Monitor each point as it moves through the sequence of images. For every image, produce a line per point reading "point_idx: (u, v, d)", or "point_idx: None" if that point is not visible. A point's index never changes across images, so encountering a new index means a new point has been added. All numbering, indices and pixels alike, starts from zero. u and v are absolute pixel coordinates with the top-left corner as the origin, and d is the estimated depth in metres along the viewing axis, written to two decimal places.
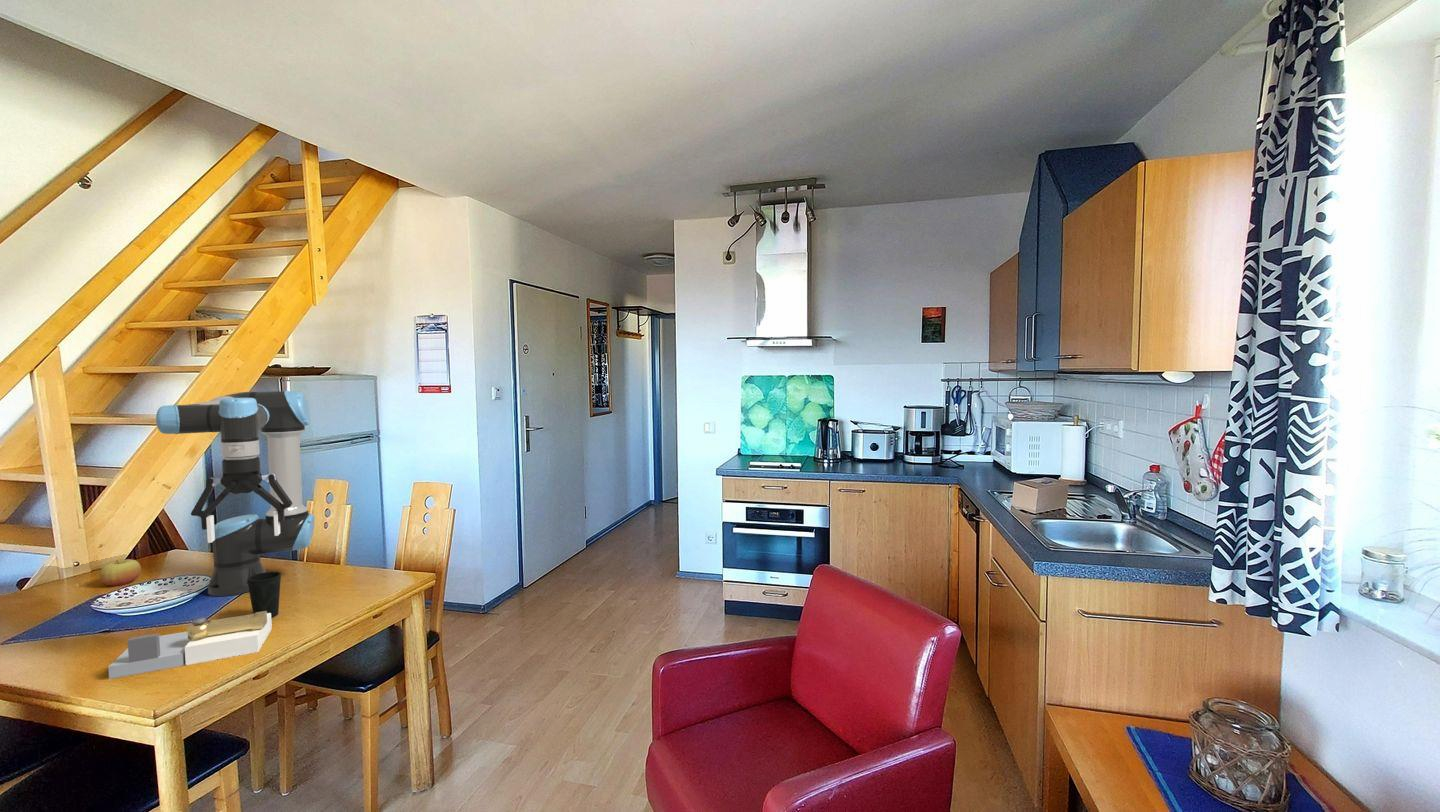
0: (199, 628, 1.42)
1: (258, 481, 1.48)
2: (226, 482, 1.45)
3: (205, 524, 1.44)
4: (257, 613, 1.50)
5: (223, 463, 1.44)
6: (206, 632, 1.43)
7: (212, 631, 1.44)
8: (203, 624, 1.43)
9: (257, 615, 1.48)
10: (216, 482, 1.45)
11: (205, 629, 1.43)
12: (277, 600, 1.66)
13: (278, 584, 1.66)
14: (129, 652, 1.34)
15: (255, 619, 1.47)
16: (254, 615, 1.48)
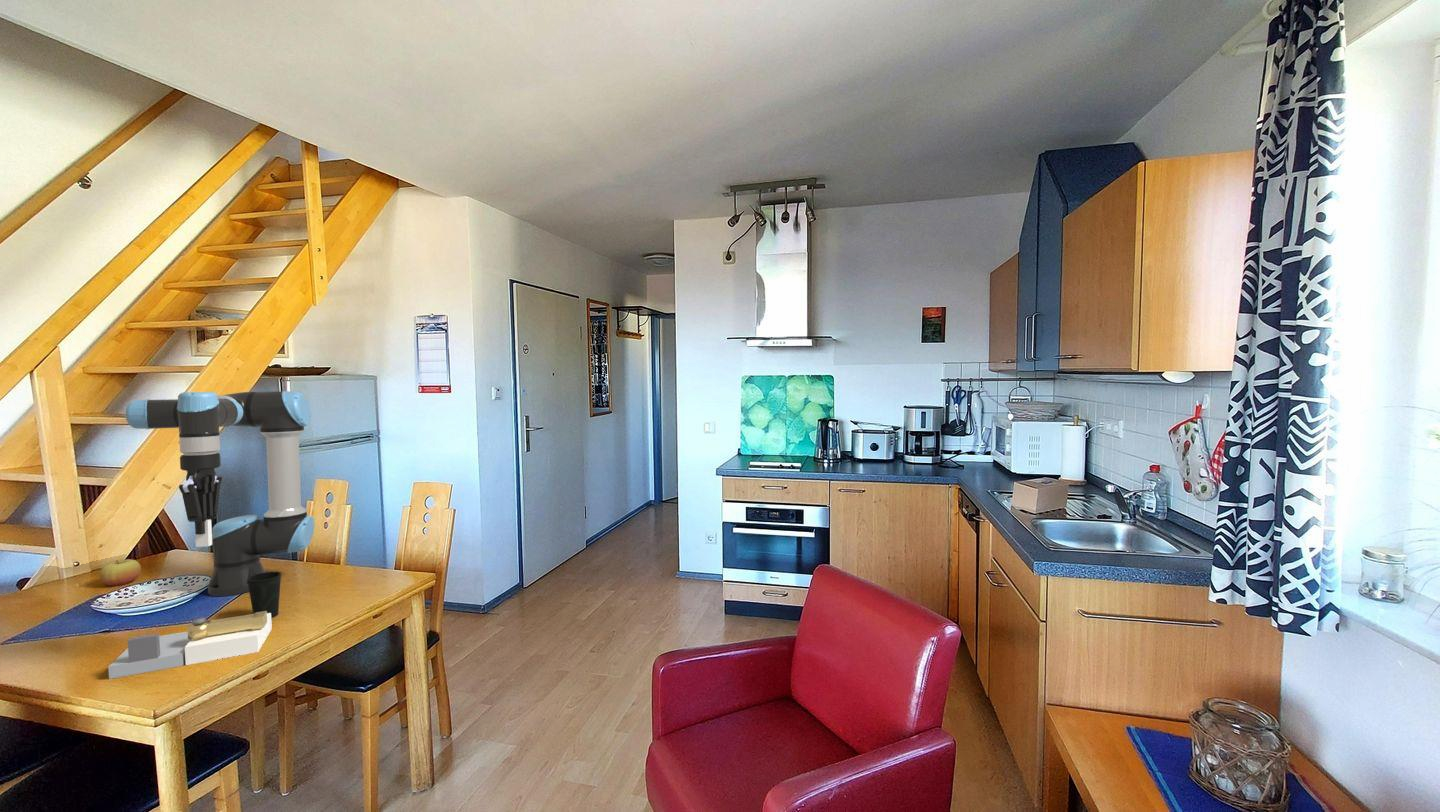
0: (199, 628, 1.42)
1: (187, 481, 1.40)
2: None
3: None
4: (257, 613, 1.50)
5: None
6: (206, 632, 1.43)
7: (212, 631, 1.44)
8: (203, 624, 1.43)
9: (257, 615, 1.48)
10: None
11: (205, 629, 1.43)
12: (277, 600, 1.66)
13: (278, 584, 1.66)
14: (129, 652, 1.34)
15: (255, 619, 1.47)
16: (254, 615, 1.48)
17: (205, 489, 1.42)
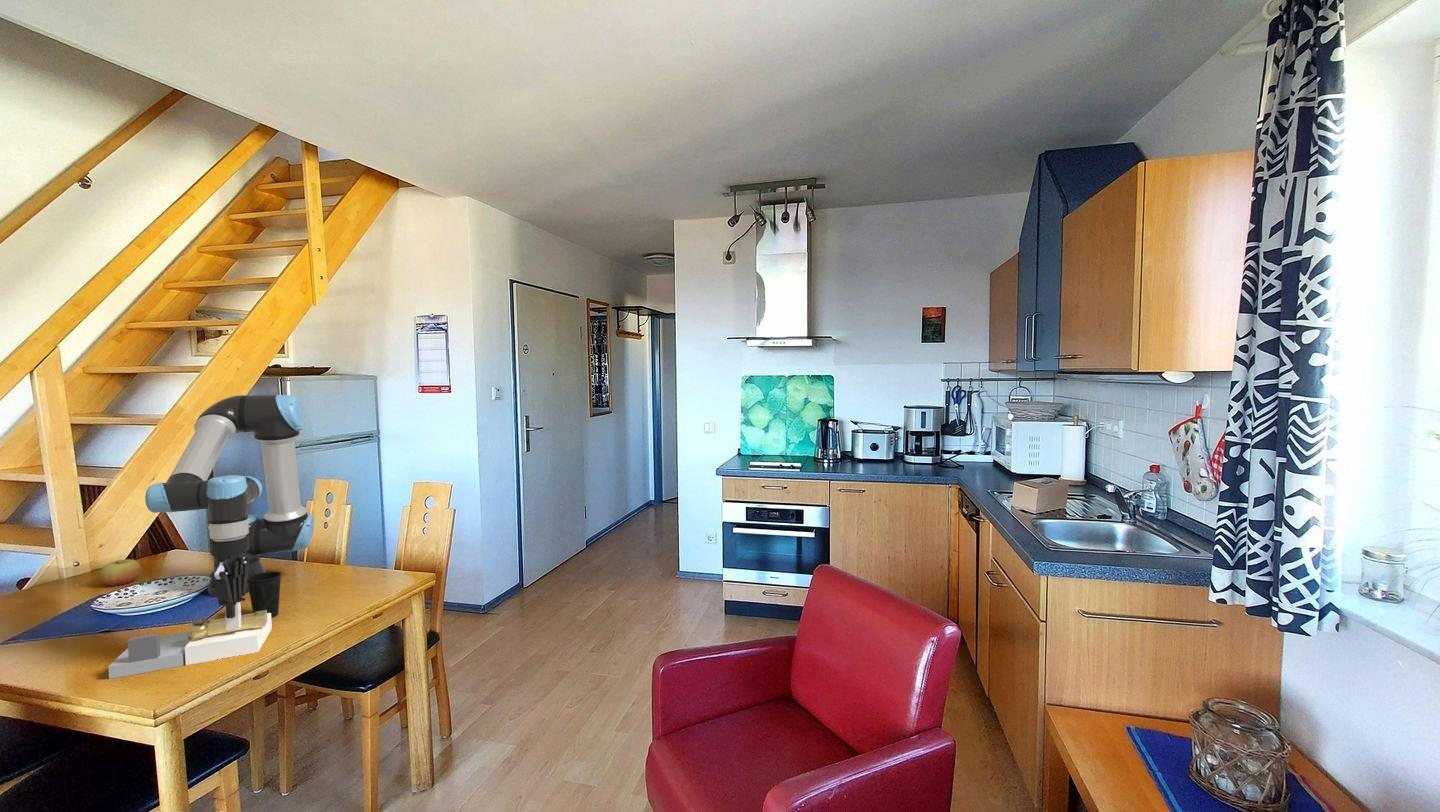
0: (199, 628, 1.42)
1: (217, 567, 1.40)
2: None
3: None
4: (257, 612, 1.50)
5: None
6: (207, 632, 1.43)
7: (212, 630, 1.44)
8: (203, 624, 1.43)
9: (258, 614, 1.49)
10: None
11: (206, 629, 1.43)
12: (277, 600, 1.66)
13: (278, 584, 1.66)
14: (129, 652, 1.34)
15: (256, 618, 1.47)
16: (255, 614, 1.49)
17: (235, 573, 1.43)
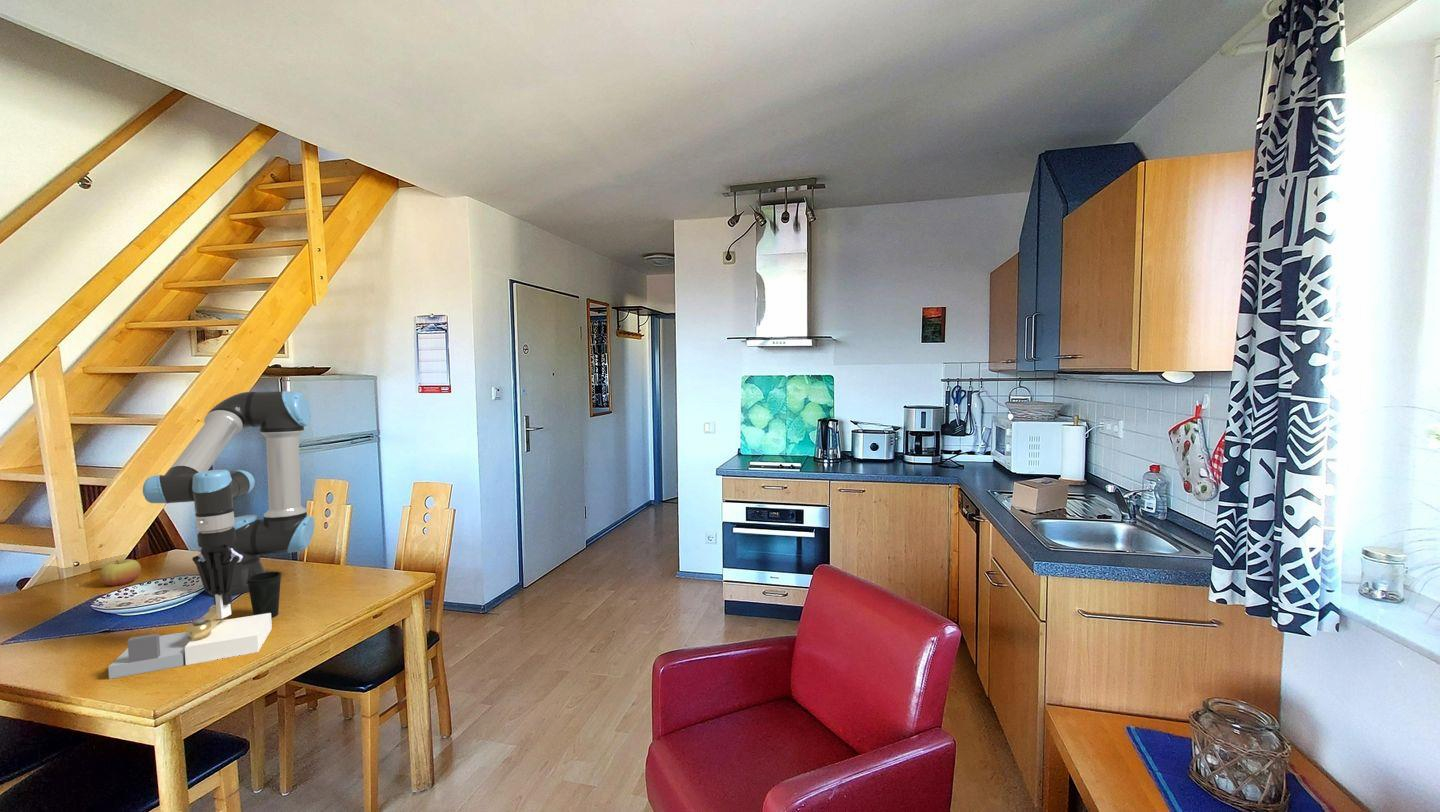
0: (210, 623, 1.44)
1: (227, 554, 1.49)
2: (204, 553, 1.49)
3: None
4: (212, 607, 1.53)
5: None
6: None
7: (210, 626, 1.46)
8: (205, 621, 1.44)
9: None
10: (201, 557, 1.50)
11: None
12: (277, 600, 1.66)
13: (278, 584, 1.66)
14: (129, 652, 1.34)
15: None
16: None
17: None
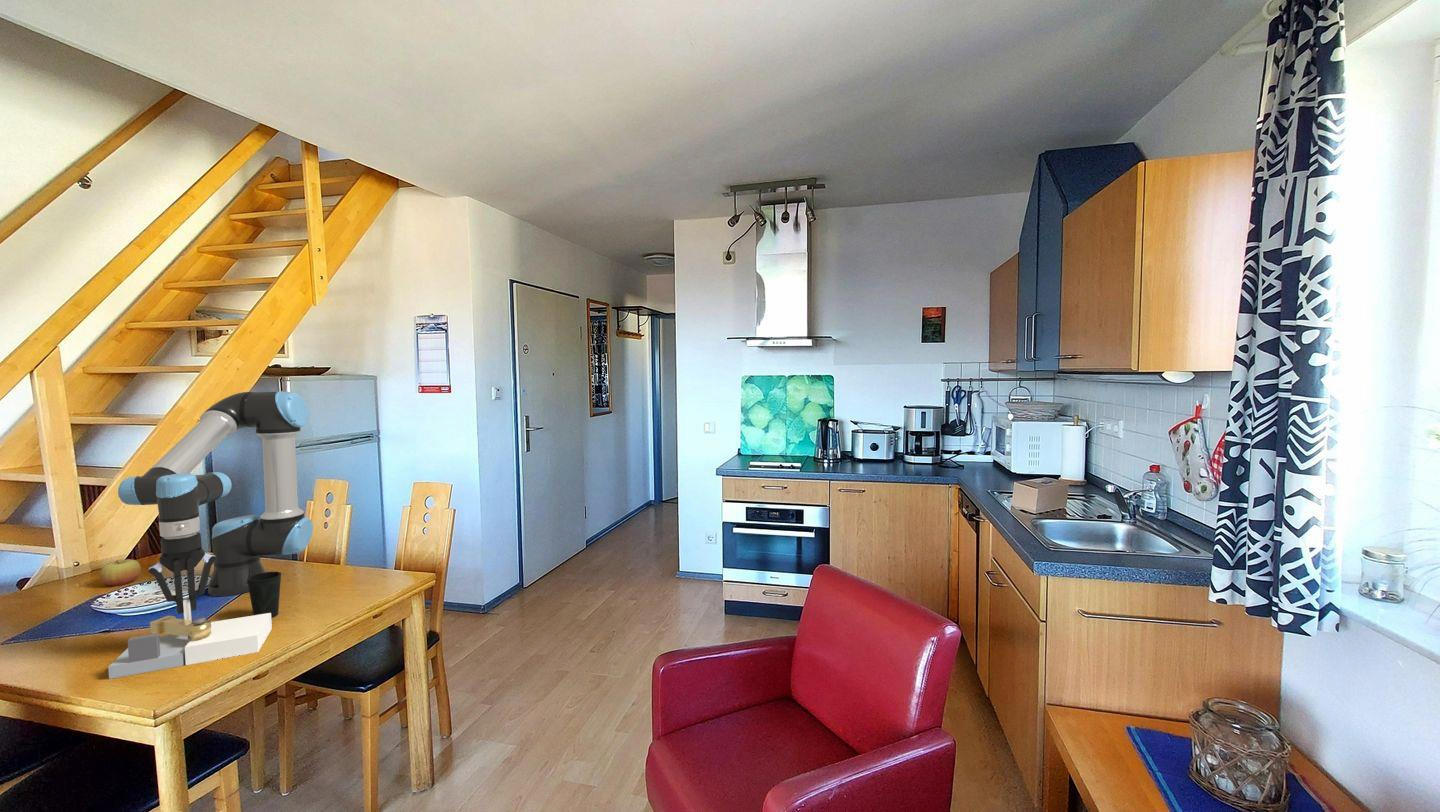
0: None
1: (201, 556, 1.48)
2: (167, 562, 1.43)
3: (181, 608, 1.46)
4: (158, 622, 1.44)
5: (165, 543, 1.42)
6: None
7: None
8: None
9: (164, 618, 1.46)
10: (159, 567, 1.42)
11: None
12: (277, 600, 1.66)
13: (278, 584, 1.66)
14: (129, 652, 1.34)
15: None
16: (166, 619, 1.46)
17: None
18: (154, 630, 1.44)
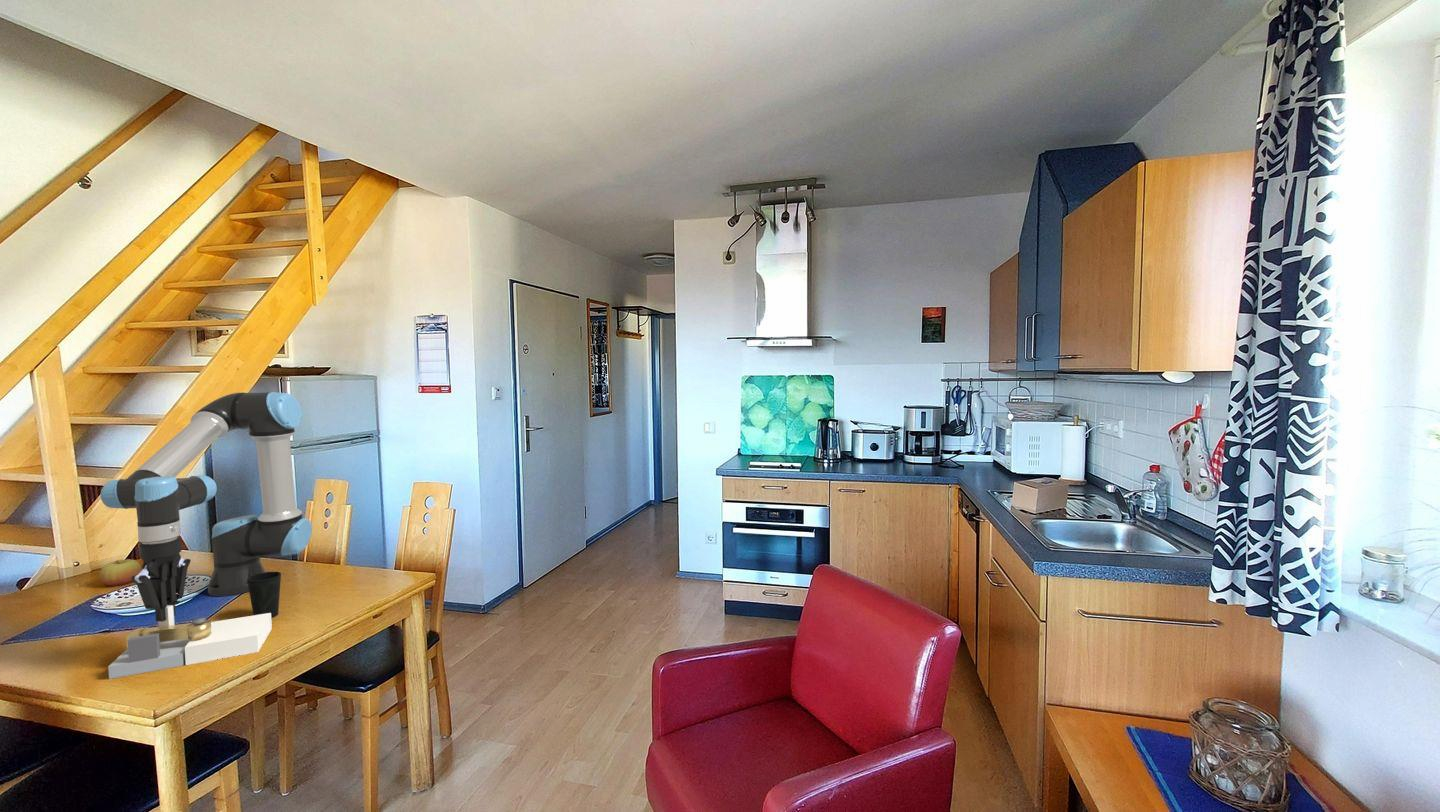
0: None
1: (179, 560, 1.45)
2: (154, 567, 1.39)
3: (164, 615, 1.41)
4: (137, 633, 1.38)
5: (156, 547, 1.38)
6: None
7: None
8: None
9: (139, 630, 1.39)
10: (146, 574, 1.37)
11: None
12: (277, 600, 1.66)
13: (278, 584, 1.66)
14: (129, 652, 1.34)
15: None
16: (142, 630, 1.40)
17: None
18: None
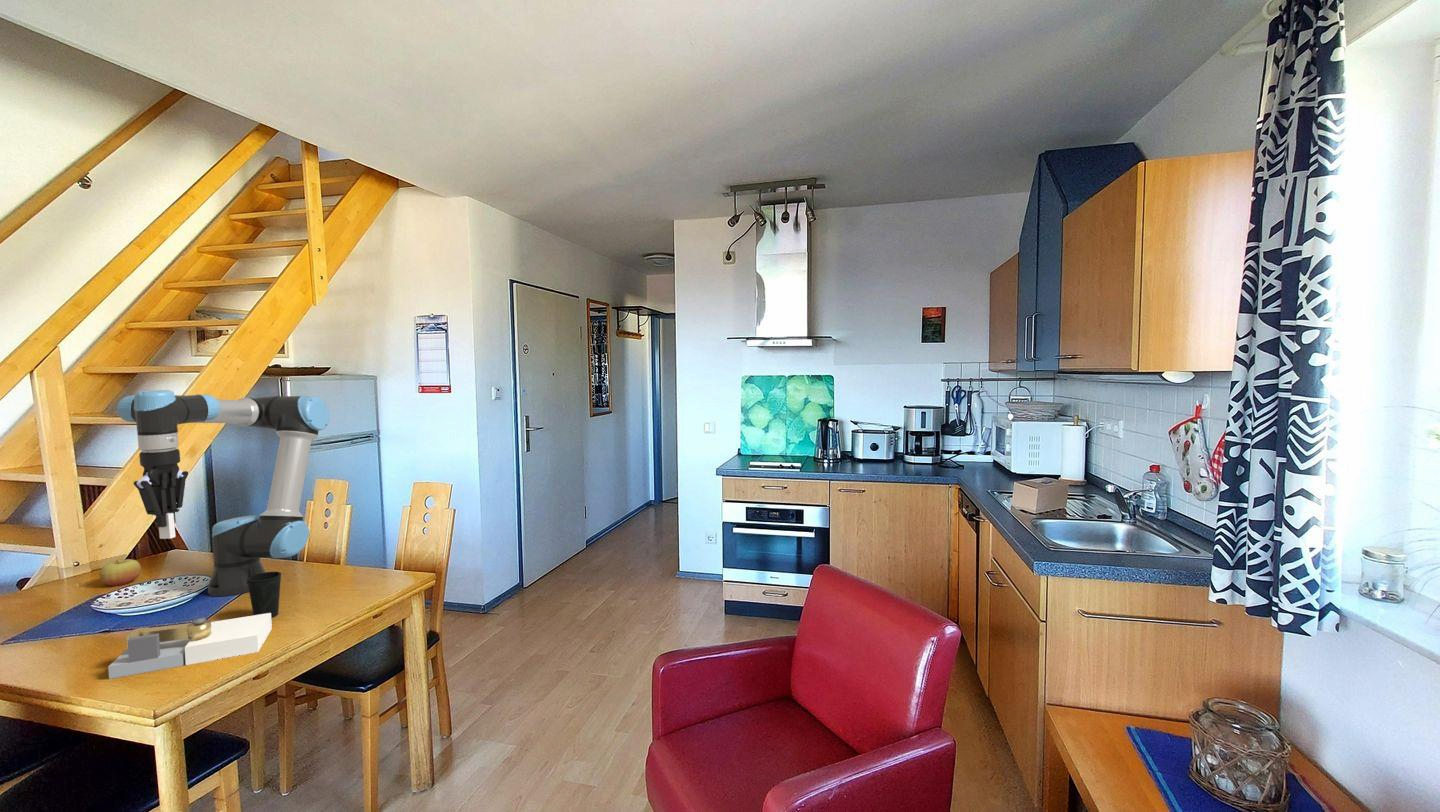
0: None
1: (178, 471, 1.52)
2: (155, 475, 1.46)
3: (164, 521, 1.49)
4: (137, 633, 1.38)
5: (156, 455, 1.45)
6: None
7: None
8: None
9: (139, 630, 1.39)
10: (147, 480, 1.45)
11: None
12: (277, 600, 1.66)
13: (278, 584, 1.66)
14: (129, 652, 1.34)
15: None
16: (142, 630, 1.40)
17: None
18: None
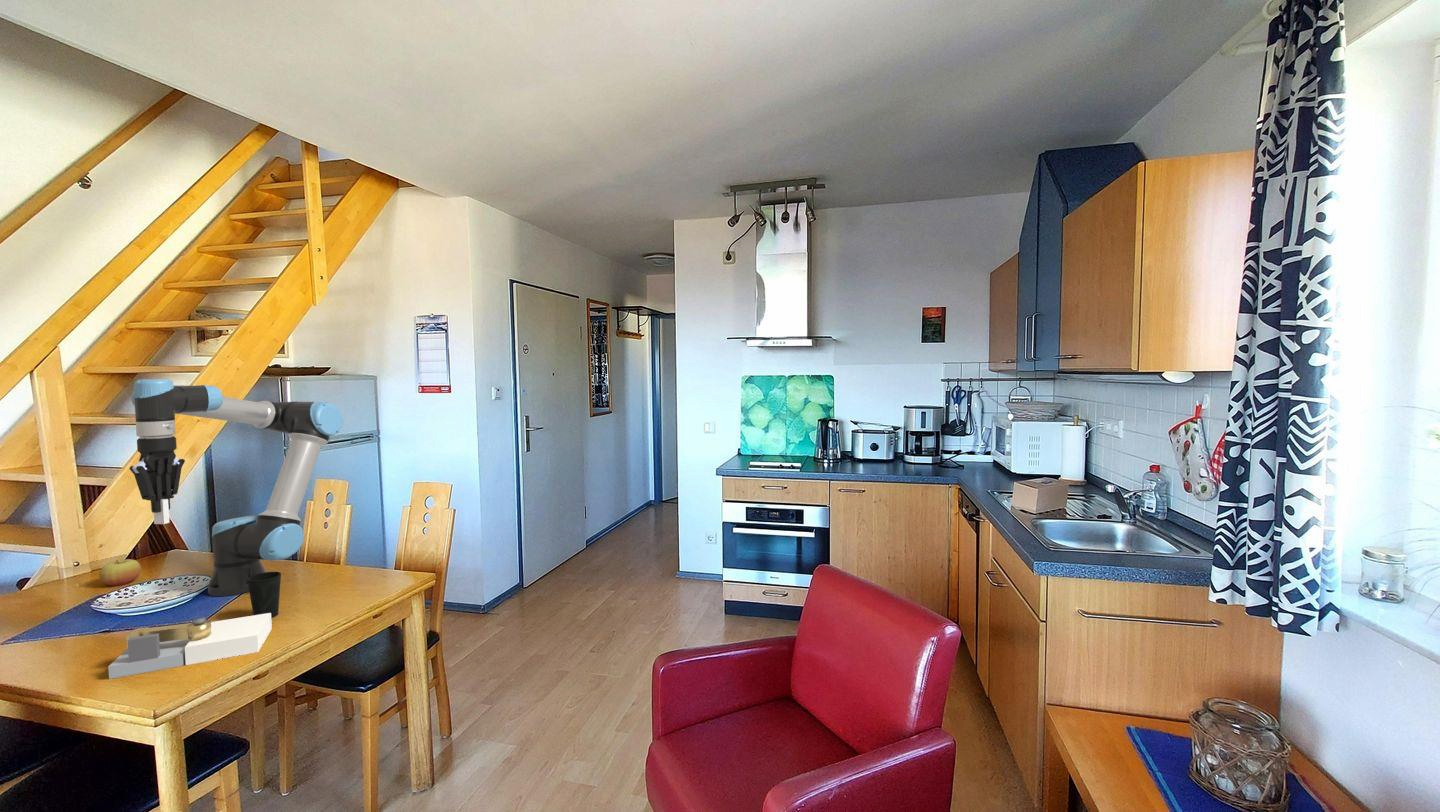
0: None
1: (174, 458, 1.56)
2: (151, 461, 1.50)
3: (159, 507, 1.52)
4: (137, 633, 1.38)
5: (153, 442, 1.49)
6: None
7: None
8: None
9: (139, 630, 1.39)
10: (143, 466, 1.48)
11: None
12: (277, 600, 1.66)
13: (278, 584, 1.66)
14: (129, 652, 1.34)
15: None
16: (142, 630, 1.40)
17: None
18: None
